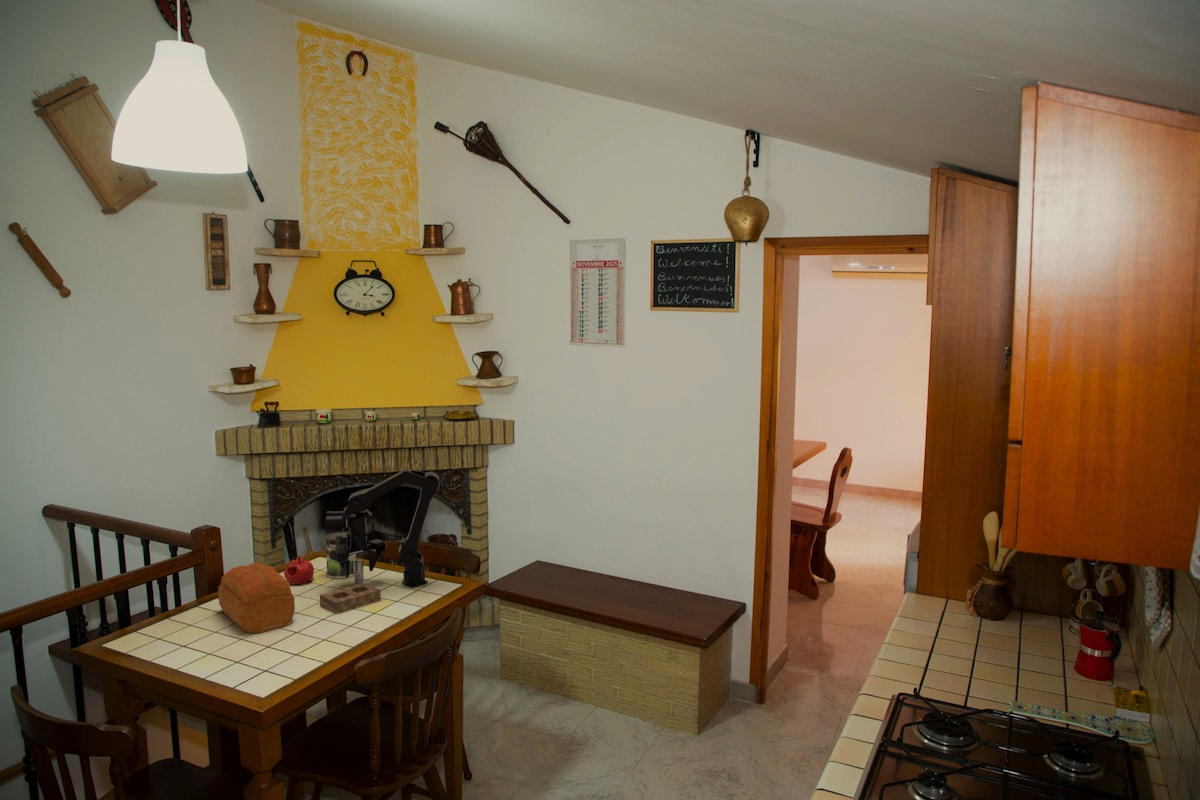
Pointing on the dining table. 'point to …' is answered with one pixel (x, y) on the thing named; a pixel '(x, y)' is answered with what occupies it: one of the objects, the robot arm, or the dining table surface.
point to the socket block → (350, 597)
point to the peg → (358, 571)
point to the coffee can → (333, 566)
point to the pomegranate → (299, 571)
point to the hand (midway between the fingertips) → (359, 574)
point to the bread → (256, 598)
